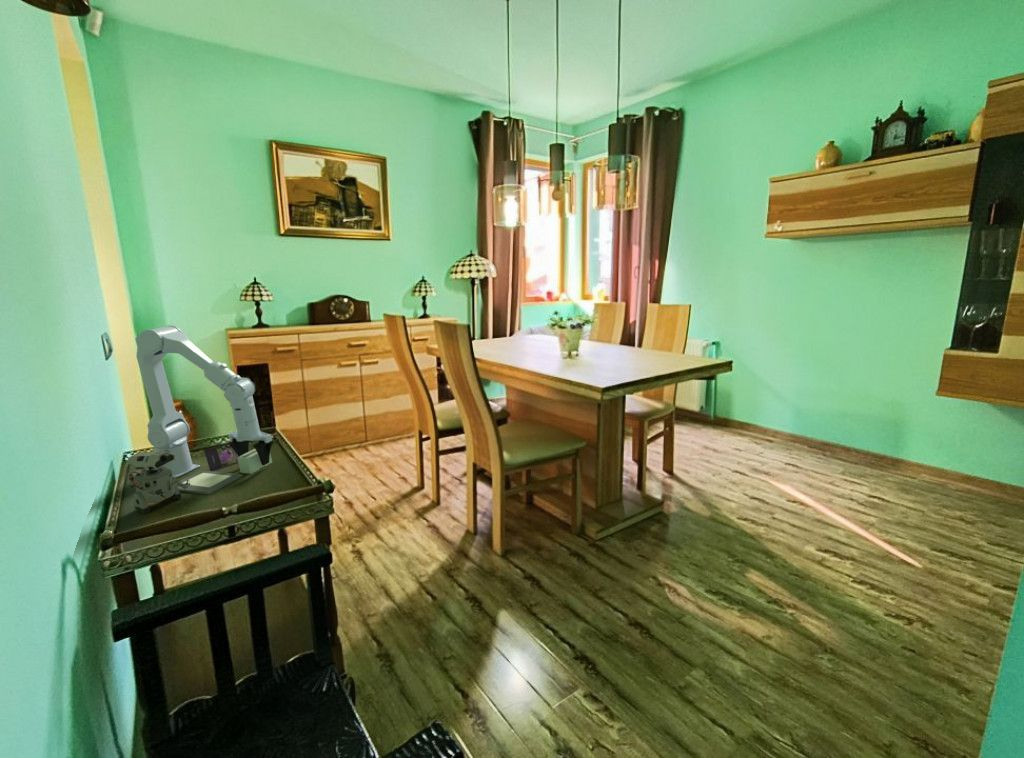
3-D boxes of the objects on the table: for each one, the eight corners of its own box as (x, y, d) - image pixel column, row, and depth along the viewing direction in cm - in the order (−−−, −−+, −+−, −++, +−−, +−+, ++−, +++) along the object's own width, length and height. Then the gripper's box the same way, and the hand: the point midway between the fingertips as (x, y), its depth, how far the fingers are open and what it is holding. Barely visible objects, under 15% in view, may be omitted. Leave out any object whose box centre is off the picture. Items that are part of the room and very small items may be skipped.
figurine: (156, 519, 116) (140, 462, 112) (133, 510, 121) (116, 456, 117) (195, 501, 124) (181, 448, 120) (171, 494, 129) (157, 442, 125)
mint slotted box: (240, 473, 140) (237, 457, 139) (262, 461, 147) (258, 446, 146) (251, 474, 139) (247, 458, 137) (272, 462, 146) (269, 447, 145)
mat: (165, 489, 132) (165, 487, 132) (201, 472, 142) (201, 469, 142) (208, 494, 127) (207, 492, 127) (242, 476, 137) (242, 474, 137)
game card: (204, 449, 142) (237, 440, 148) (201, 451, 145) (233, 442, 152) (211, 471, 142) (243, 460, 148) (207, 472, 146) (239, 462, 152)
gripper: (215, 423, 138) (226, 466, 141) (254, 426, 133) (264, 470, 136) (236, 415, 144) (245, 457, 148) (273, 417, 140) (282, 460, 143)
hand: (255, 463), depth 142 cm, fingers open, 7 cm apart
